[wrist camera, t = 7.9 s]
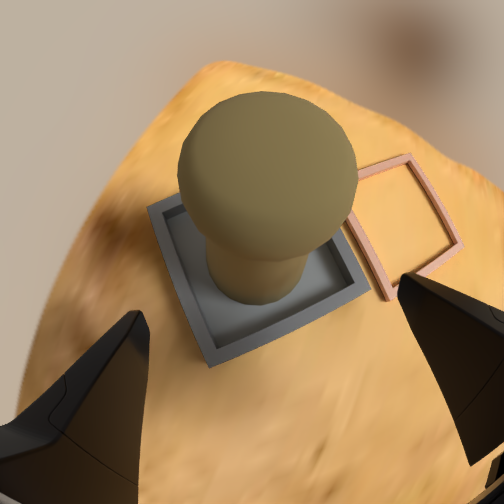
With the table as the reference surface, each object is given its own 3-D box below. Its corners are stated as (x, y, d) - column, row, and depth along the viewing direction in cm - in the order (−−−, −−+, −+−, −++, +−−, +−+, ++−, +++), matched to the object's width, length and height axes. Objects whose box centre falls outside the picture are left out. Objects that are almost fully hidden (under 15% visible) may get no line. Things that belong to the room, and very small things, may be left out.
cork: (252, 327, 16) (266, 323, 5) (186, 250, 17) (109, 136, 6) (325, 259, 17) (425, 161, 6) (259, 192, 18) (274, 46, 7)
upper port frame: (461, 248, 18) (464, 246, 17) (386, 301, 16) (390, 300, 16) (407, 155, 20) (410, 152, 19) (324, 185, 19) (326, 181, 18)
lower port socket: (361, 292, 17) (371, 289, 15) (212, 364, 15) (209, 368, 14) (290, 162, 19) (293, 150, 18) (153, 216, 18) (146, 207, 16)
